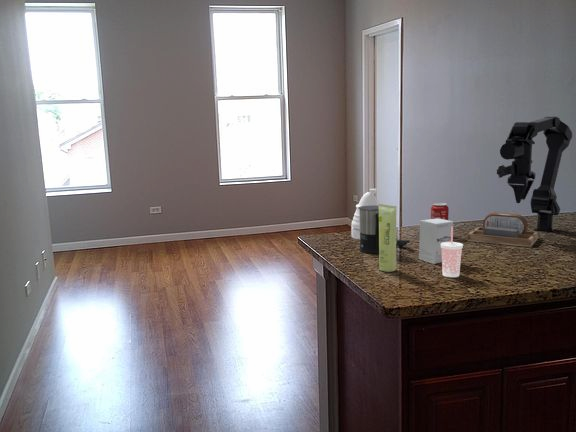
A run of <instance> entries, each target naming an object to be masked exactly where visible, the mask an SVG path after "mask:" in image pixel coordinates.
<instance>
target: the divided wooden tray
mask: <svg viewBox="0 0 576 432" xmlns="http://www.w3.org/2000/svg"><path fill="white" fill-rule="evenodd" d="M483 229H484V227H483V226H482V227H481V226H477V227H476V228H474V229H473V230H471V231H470V232H469V233H467V242H475V243H486V244H494V245H495V244H496V245H504V246H505V245H507V246H517V247H525V248H526V247H527V248H531V247H532V246H533V245H534V244H535V243H536V242H537V240H538V239H539V232H538V231H530V230H527V231H526V232H525V233H524V234H519V238H511V237H500V236H489V235H483Z"/></svg>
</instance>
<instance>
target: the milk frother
mask: <svg viewBox="0 0 576 432" xmlns="http://www.w3.org/2000/svg"><path fill="white" fill-rule="evenodd" d="M359 211H360V240H359V248H358V250H359V251H360V252H363V253H370V254H371V253H373V254H374V253H378V254H379V205H368V206H361V207H359ZM410 243H411V240H410V239H408V240H405V239H399V240H396V247H398V248H399V249H401V248H403V247H404V246H405V245H407V244H410Z"/></svg>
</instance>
